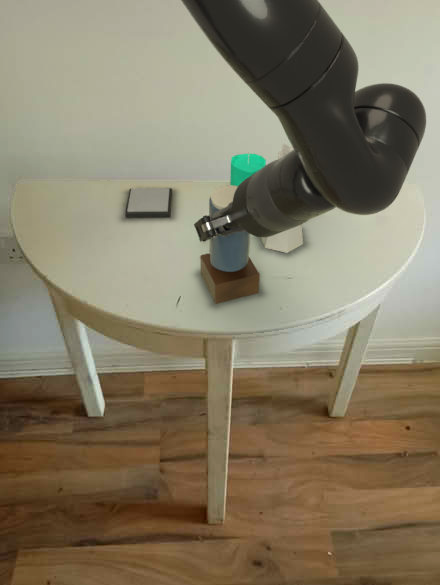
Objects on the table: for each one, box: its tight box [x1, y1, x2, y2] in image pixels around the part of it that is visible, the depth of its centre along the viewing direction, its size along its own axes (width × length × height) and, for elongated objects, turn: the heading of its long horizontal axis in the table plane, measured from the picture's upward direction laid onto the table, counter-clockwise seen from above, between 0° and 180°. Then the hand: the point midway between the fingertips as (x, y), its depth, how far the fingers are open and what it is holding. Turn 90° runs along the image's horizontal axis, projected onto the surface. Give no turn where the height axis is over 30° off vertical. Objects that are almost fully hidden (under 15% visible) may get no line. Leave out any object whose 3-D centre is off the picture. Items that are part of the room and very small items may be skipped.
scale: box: [124, 187, 173, 219], centre depth 93 cm, size 8×8×1 cm
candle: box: [229, 152, 267, 186], centre depth 87 cm, size 6×6×12 cm
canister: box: [208, 185, 251, 272], centre depth 71 cm, size 6×6×11 cm
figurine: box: [260, 143, 304, 254], centre depth 80 cm, size 7×8×18 cm
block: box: [199, 252, 261, 305], centre depth 77 cm, size 7×7×4 cm
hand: (223, 226), depth 72 cm, fingers closed on canister, 6 cm apart
